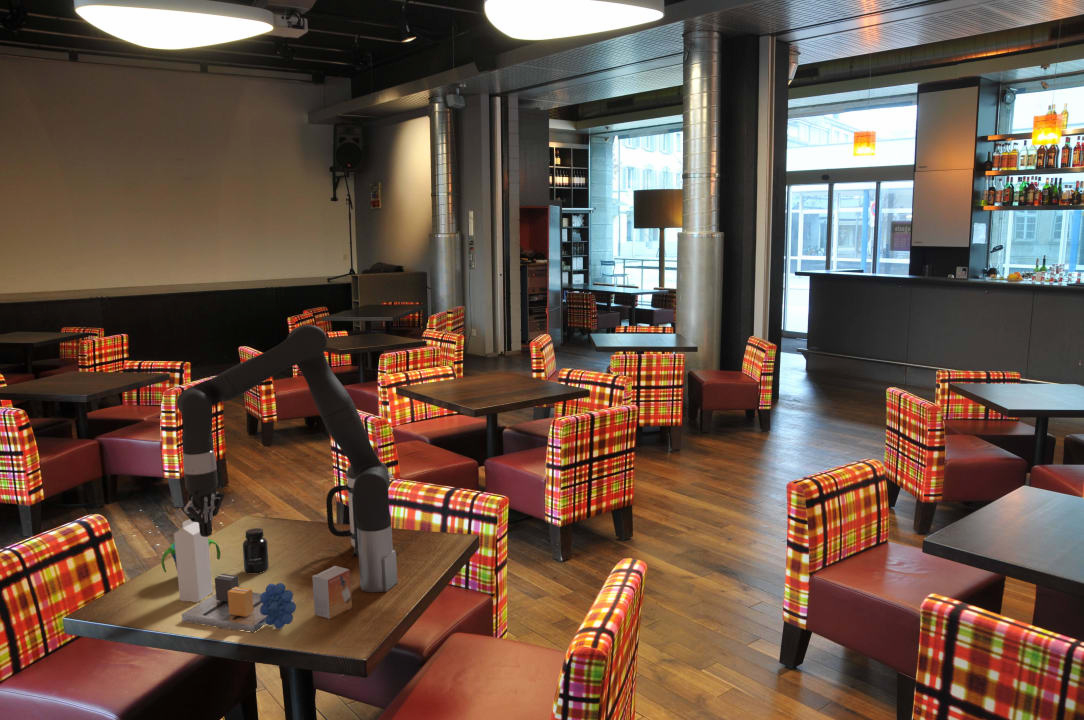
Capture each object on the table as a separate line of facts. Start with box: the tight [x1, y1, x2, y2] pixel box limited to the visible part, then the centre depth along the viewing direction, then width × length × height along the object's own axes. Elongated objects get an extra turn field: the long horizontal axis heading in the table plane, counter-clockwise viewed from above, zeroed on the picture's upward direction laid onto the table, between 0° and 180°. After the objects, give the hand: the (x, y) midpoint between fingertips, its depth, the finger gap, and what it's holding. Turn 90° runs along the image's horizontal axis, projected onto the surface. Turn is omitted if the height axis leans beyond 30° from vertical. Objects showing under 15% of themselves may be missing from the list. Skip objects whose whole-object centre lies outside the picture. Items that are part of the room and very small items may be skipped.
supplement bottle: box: [242, 527, 270, 574], centre depth 240 cm, size 7×7×12 cm
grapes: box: [260, 582, 297, 630], centre depth 204 cm, size 12×7×12 cm, turn 61°
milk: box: [173, 518, 214, 603], centre depth 222 cm, size 6×6×22 cm
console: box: [181, 591, 295, 633], centre depth 213 cm, size 22×16×2 cm
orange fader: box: [228, 586, 254, 617], centre depth 207 cm, size 5×3×6 cm, turn 71°
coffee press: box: [325, 461, 394, 557], centre depth 252 cm, size 17×16×30 cm
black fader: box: [214, 573, 240, 602], centre depth 215 cm, size 5×3×6 cm, turn 71°
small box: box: [311, 565, 353, 620], centre depth 212 cm, size 8×6×10 cm
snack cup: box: [161, 538, 221, 573], centre depth 236 cm, size 16×10×10 cm
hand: (206, 535), depth 207 cm, fingers closed
